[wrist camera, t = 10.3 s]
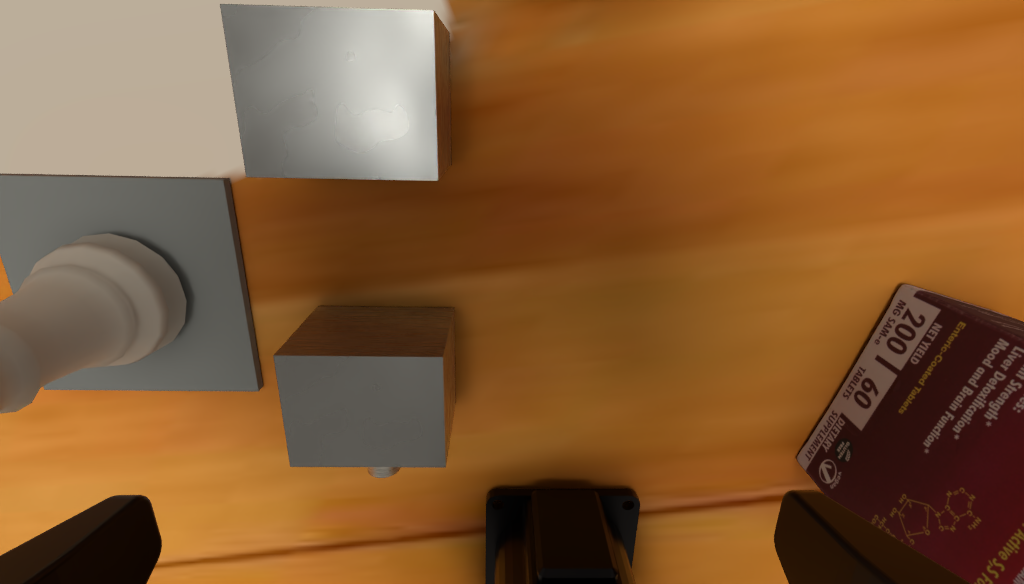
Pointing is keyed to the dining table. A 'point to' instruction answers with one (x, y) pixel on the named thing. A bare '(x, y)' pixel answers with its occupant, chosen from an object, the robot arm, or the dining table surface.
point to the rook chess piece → (86, 314)
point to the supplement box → (934, 435)
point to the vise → (352, 155)
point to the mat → (171, 234)
